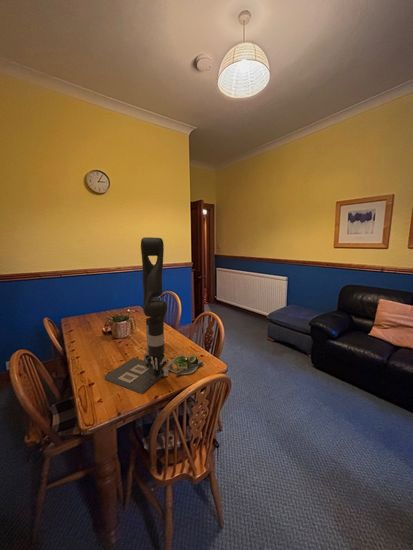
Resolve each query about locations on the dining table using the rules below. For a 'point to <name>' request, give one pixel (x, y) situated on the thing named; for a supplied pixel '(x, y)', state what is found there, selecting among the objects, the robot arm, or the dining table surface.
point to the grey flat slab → (133, 375)
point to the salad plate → (184, 364)
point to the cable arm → (163, 371)
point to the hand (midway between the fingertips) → (157, 375)
